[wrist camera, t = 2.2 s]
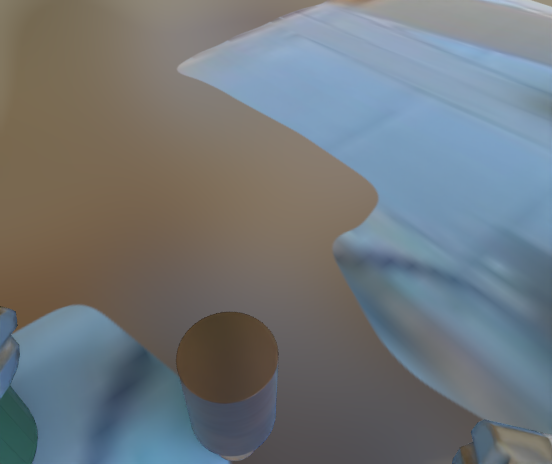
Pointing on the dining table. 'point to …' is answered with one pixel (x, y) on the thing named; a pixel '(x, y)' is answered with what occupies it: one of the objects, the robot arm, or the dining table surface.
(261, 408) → the stopper
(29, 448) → the bottle
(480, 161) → the dining table surface
